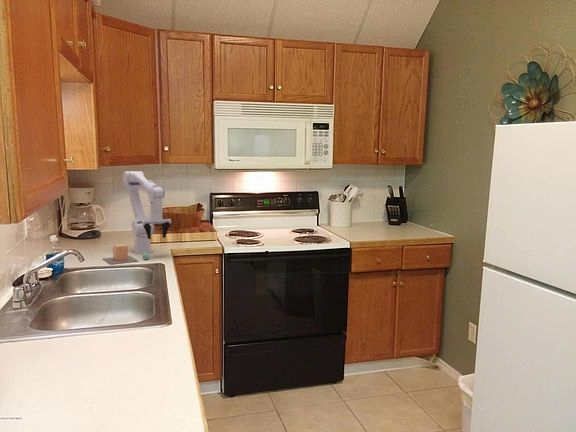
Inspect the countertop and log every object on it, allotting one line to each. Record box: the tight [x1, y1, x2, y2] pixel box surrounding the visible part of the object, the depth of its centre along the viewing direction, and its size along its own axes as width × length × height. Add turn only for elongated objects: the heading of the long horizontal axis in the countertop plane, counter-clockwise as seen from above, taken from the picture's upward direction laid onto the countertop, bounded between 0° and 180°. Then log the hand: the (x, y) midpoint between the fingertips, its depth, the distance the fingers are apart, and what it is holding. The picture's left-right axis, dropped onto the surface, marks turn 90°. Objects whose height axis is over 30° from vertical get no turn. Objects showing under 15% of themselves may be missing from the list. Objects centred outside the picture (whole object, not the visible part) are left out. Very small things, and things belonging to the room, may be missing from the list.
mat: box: [102, 255, 139, 265], centre depth 219 cm, size 13×13×1 cm
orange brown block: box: [112, 243, 129, 261], centre depth 218 cm, size 5×5×7 cm
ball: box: [141, 253, 150, 261], centre depth 222 cm, size 3×3×3 cm
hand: (156, 238), depth 228 cm, fingers open, 7 cm apart
